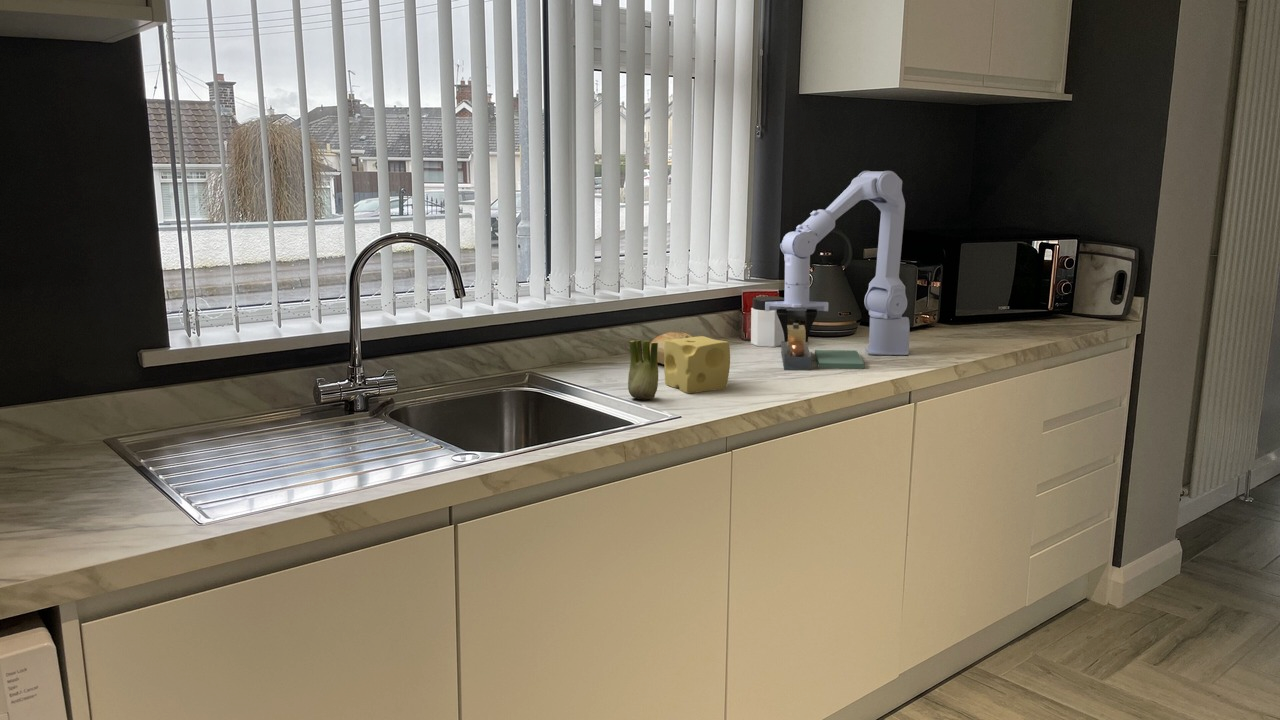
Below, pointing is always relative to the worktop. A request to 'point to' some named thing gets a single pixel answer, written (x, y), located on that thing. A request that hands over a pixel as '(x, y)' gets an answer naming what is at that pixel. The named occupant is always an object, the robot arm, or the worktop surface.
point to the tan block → (796, 334)
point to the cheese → (696, 364)
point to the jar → (765, 323)
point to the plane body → (795, 356)
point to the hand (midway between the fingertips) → (795, 341)
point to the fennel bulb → (643, 370)
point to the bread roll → (661, 343)
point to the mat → (839, 359)
